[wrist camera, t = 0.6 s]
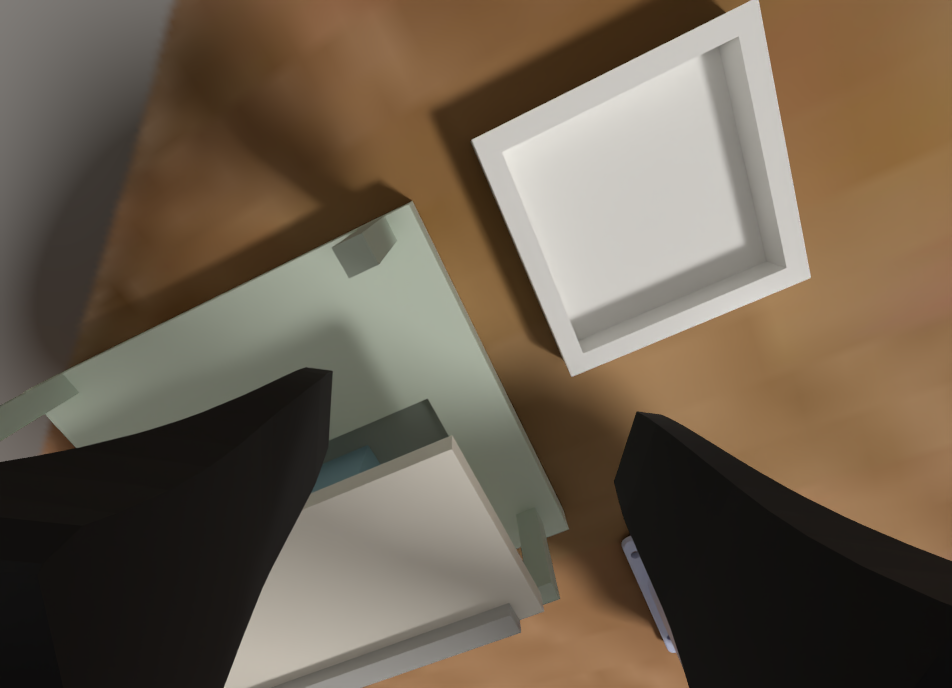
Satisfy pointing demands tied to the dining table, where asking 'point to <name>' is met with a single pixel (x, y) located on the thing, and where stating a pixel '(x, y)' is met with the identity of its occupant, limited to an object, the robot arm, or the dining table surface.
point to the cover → (386, 579)
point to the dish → (652, 193)
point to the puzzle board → (329, 348)
